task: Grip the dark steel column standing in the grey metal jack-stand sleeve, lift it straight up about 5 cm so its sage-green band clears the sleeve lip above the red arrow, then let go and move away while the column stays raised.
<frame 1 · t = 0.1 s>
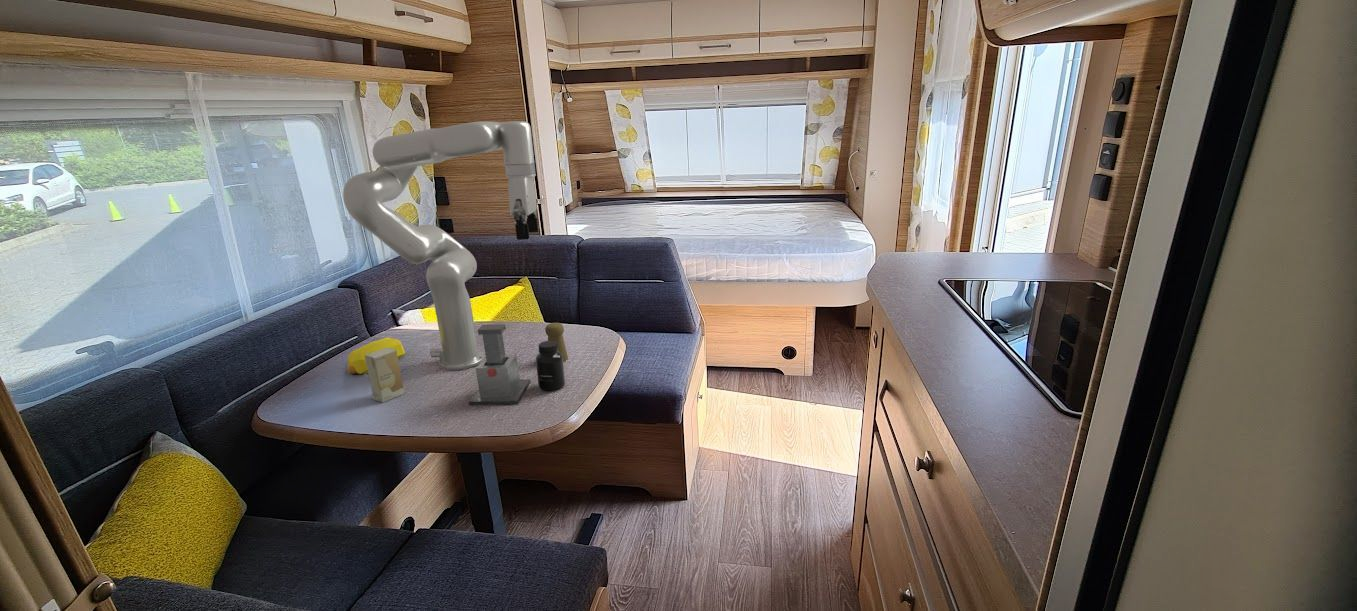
hand: (528, 235, 154), 37 cm above the table, tool pointing down, fingers open, 9 cm apart
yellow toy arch: (378, 365, 167), on the table
column: (496, 358, 143), point 10 cm above the table, slide at 0.0 cm
supplement bottle: (552, 387, 149), on the table
stand base: (501, 393, 146), on the table
olive knobbed figure: (557, 360, 166), on the table
skincare box: (389, 396, 147), on the table
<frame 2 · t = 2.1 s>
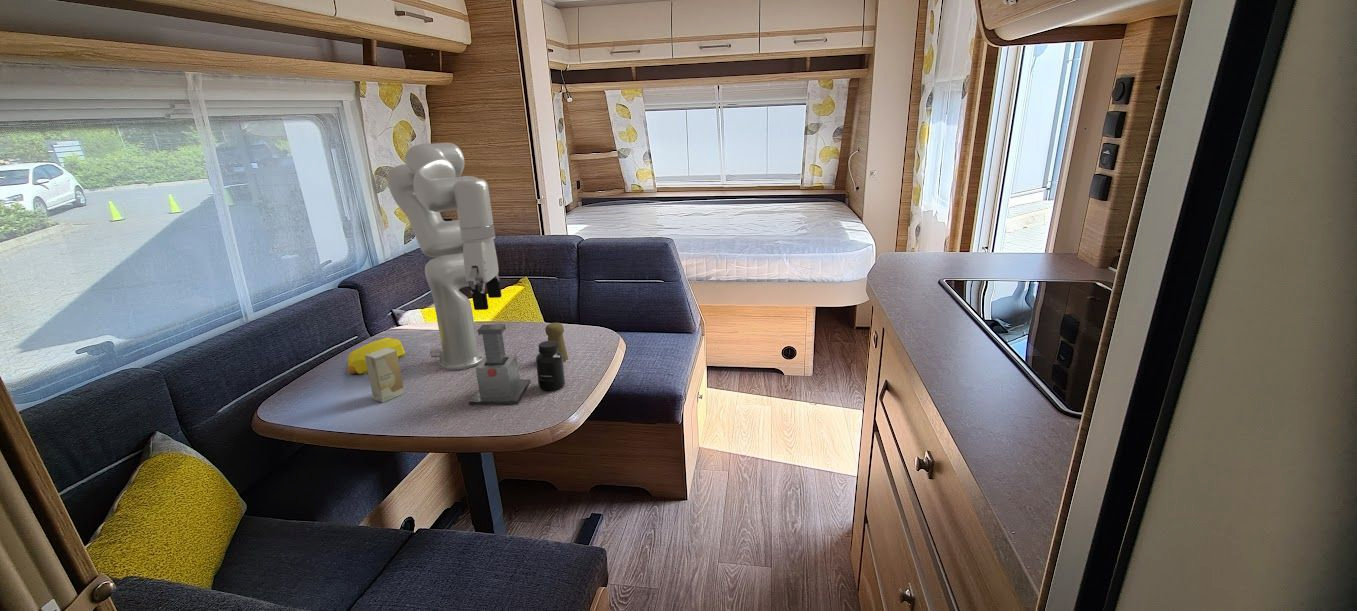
hand: (488, 303, 138), 24 cm above the table, tool pointing down, fingers open, 9 cm apart
nothing on the table moved.
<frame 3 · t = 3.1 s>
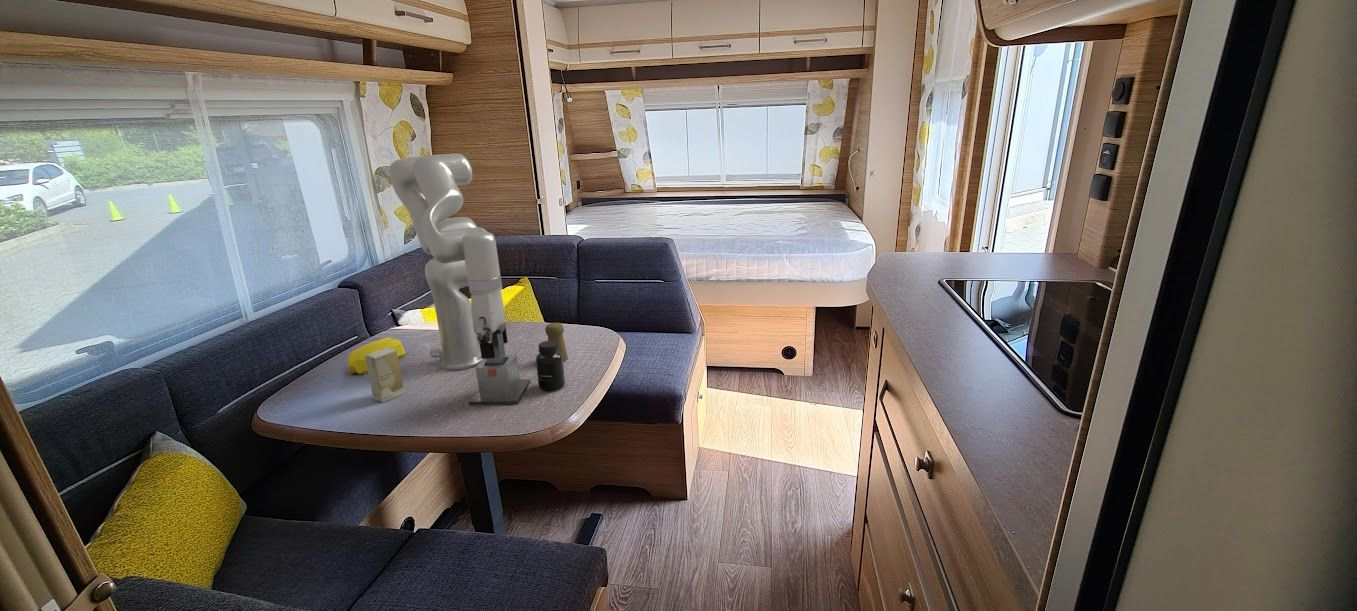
hand: (495, 350, 142), 12 cm above the table, tool pointing down, fingers open, 9 cm apart
nothing on the table moved.
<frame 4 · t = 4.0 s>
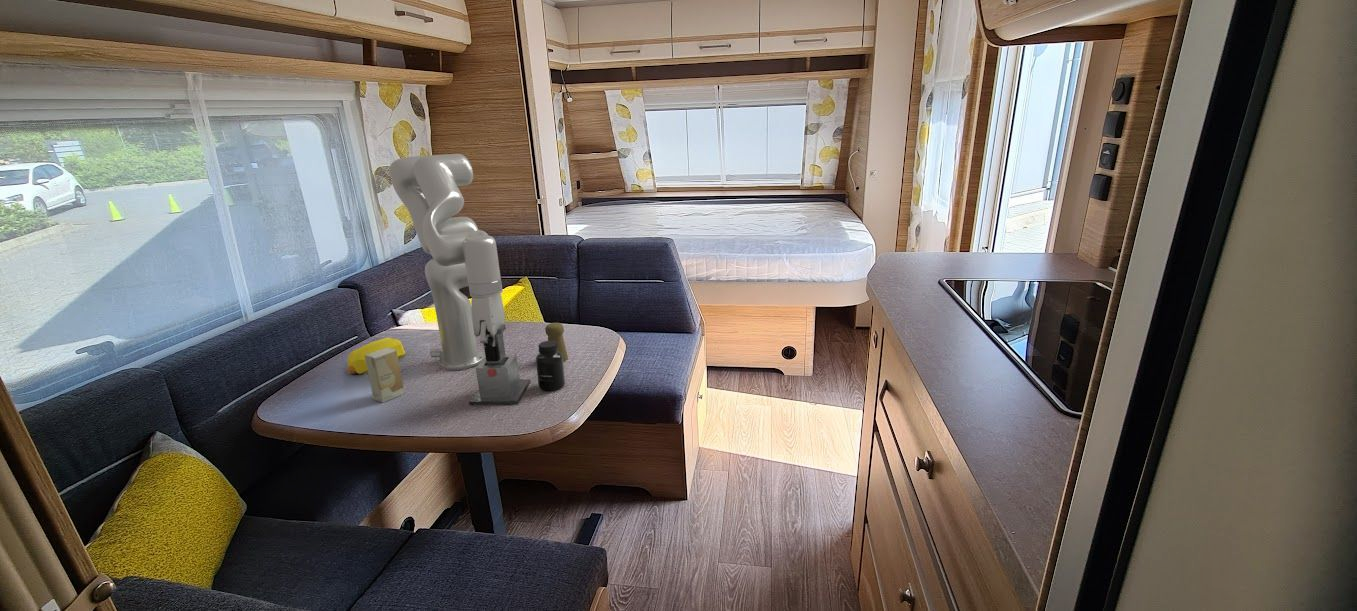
hand: (495, 356, 143), 10 cm above the table, tool pointing down, fingers closed on column, 3 cm apart
column: (496, 358, 143), point 10 cm above the table, slide at 0.0 cm, touching gripper
everything else where it was.
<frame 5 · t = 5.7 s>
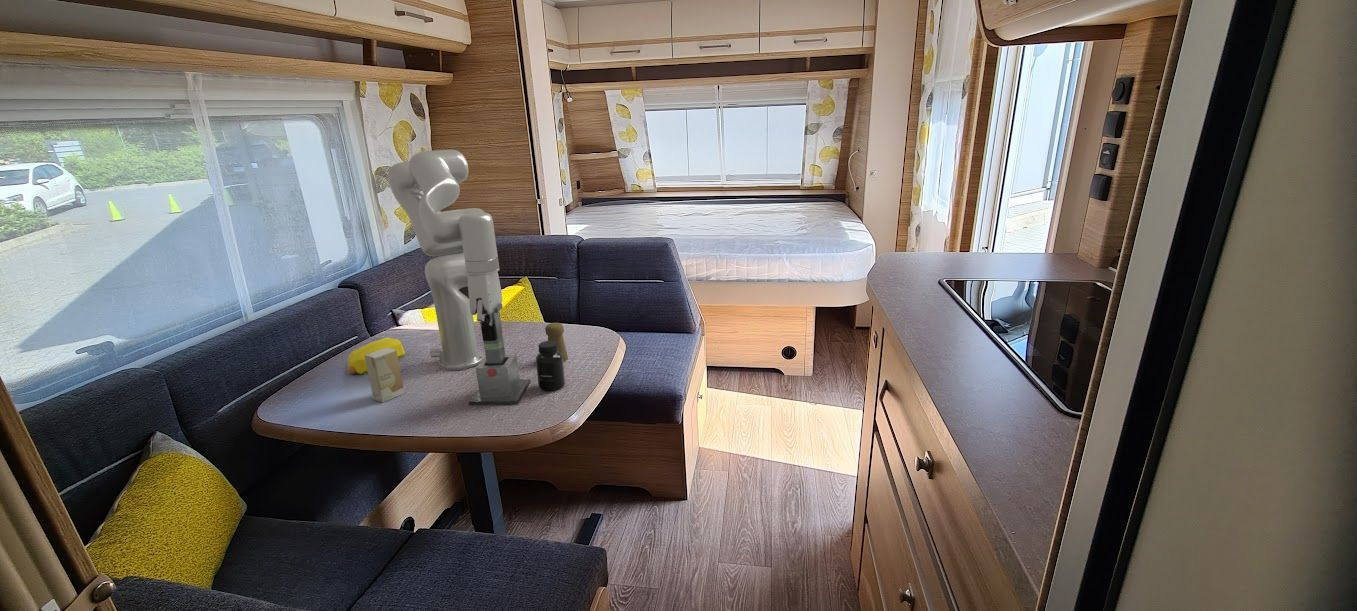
hand: (492, 336, 141), 16 cm above the table, tool pointing down, fingers closed on column, 3 cm apart
column: (493, 338, 141), point 15 cm above the table, slide at 5.4 cm, touching gripper
everything else where it was.
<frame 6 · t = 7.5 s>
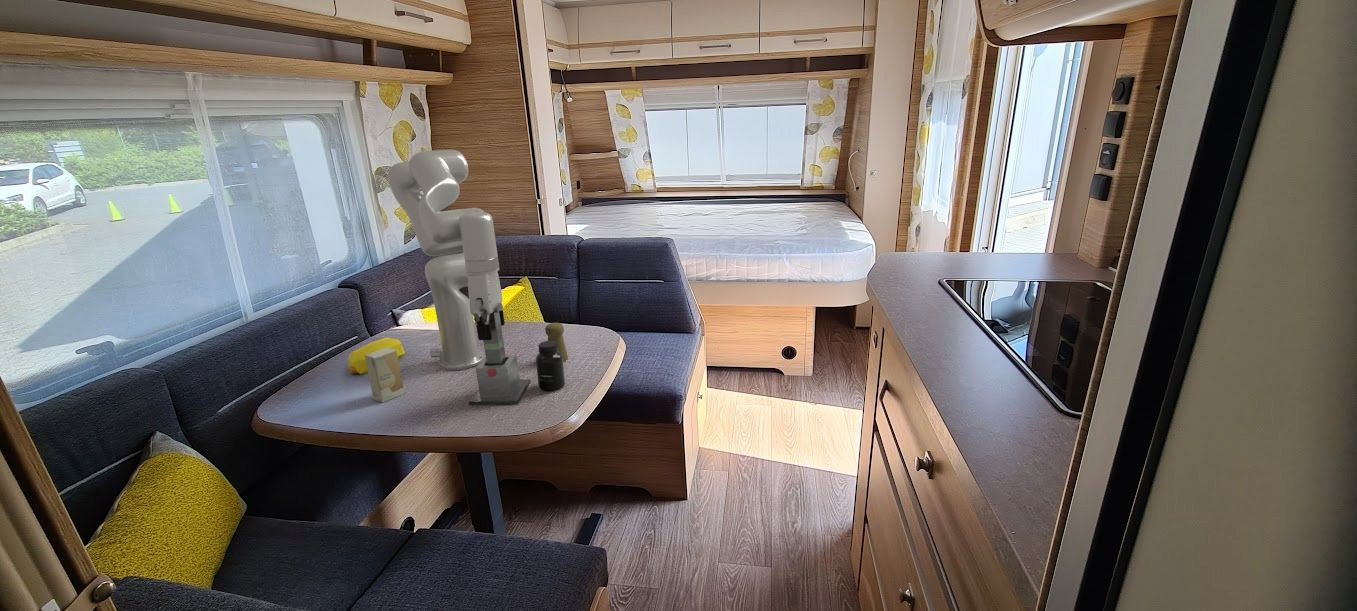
hand: (492, 332, 141), 17 cm above the table, tool pointing down, fingers open, 9 cm apart
column: (493, 337, 141), point 15 cm above the table, slide at 5.5 cm
everything else where it was.
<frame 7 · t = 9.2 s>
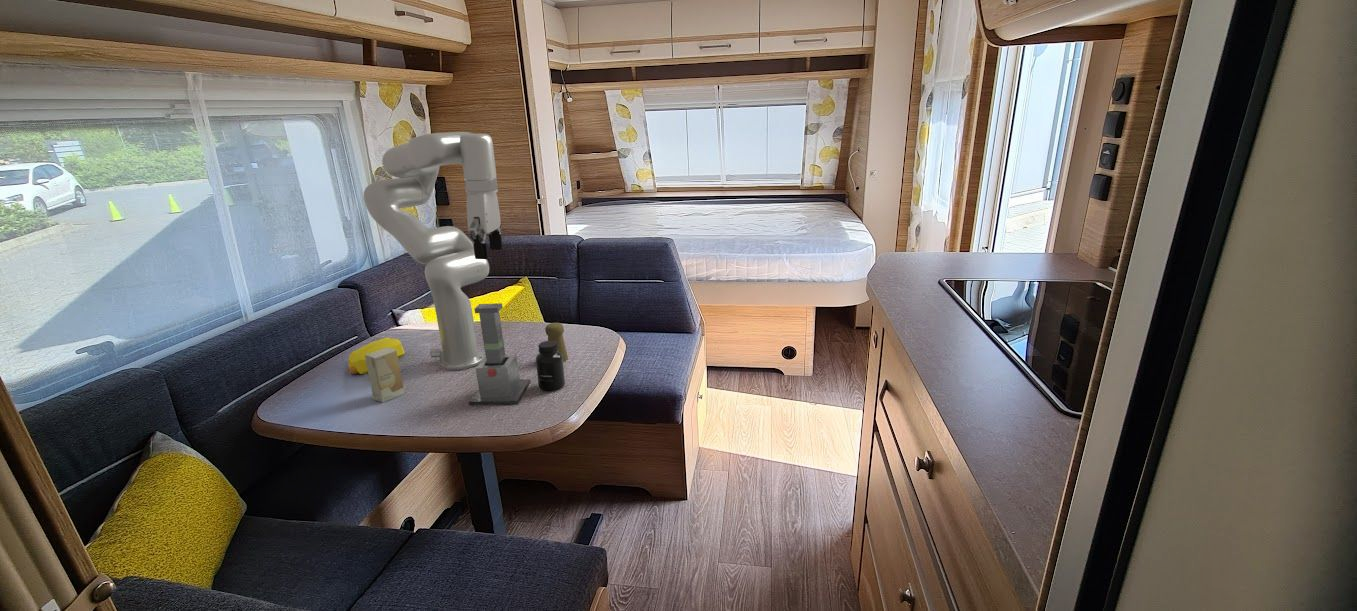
hand: (489, 254, 145), 34 cm above the table, tool pointing down, fingers open, 9 cm apart
nothing on the table moved.
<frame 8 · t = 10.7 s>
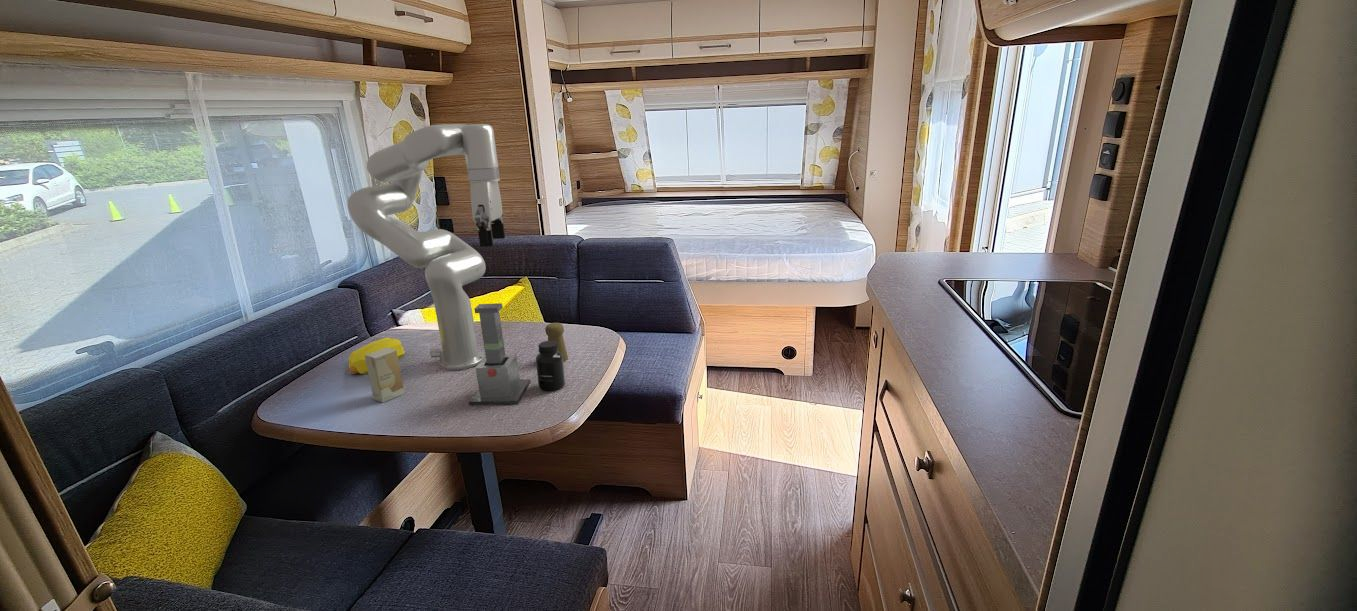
hand: (493, 242, 149), 36 cm above the table, tool pointing down, fingers open, 9 cm apart
nothing on the table moved.
at the end: column slide at 5.5 cm; the gripper is holding nothing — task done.
